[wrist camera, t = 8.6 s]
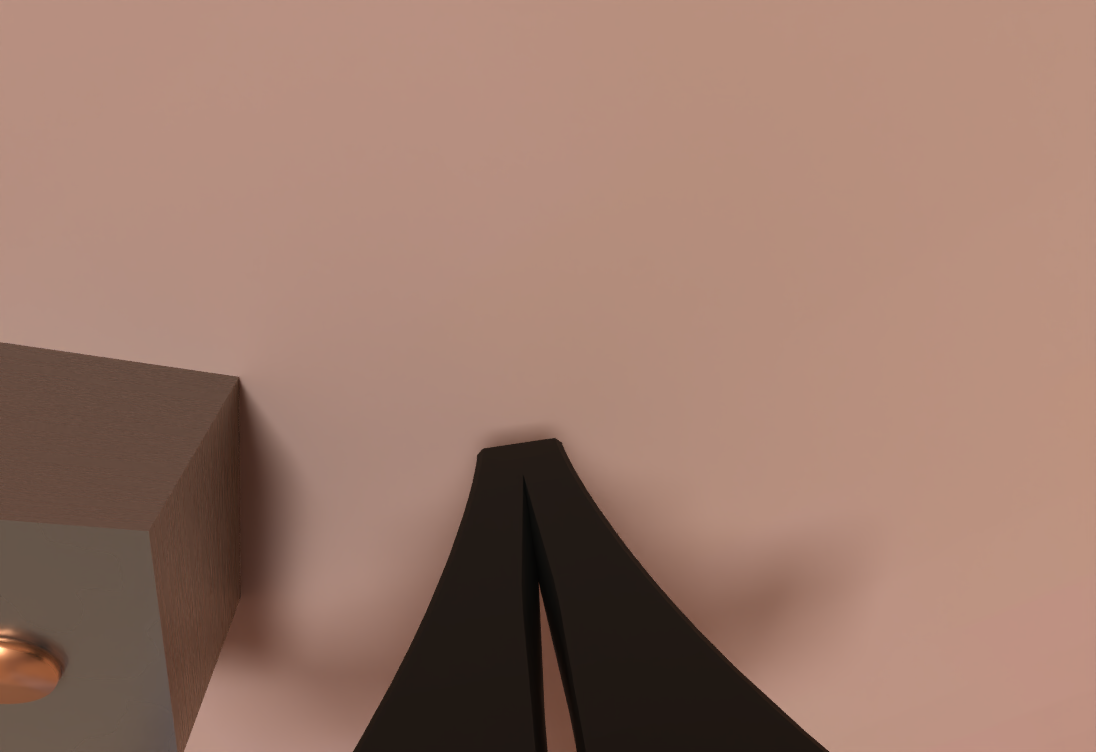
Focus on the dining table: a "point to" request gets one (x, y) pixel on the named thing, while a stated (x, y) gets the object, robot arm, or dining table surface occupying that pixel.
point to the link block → (113, 548)
